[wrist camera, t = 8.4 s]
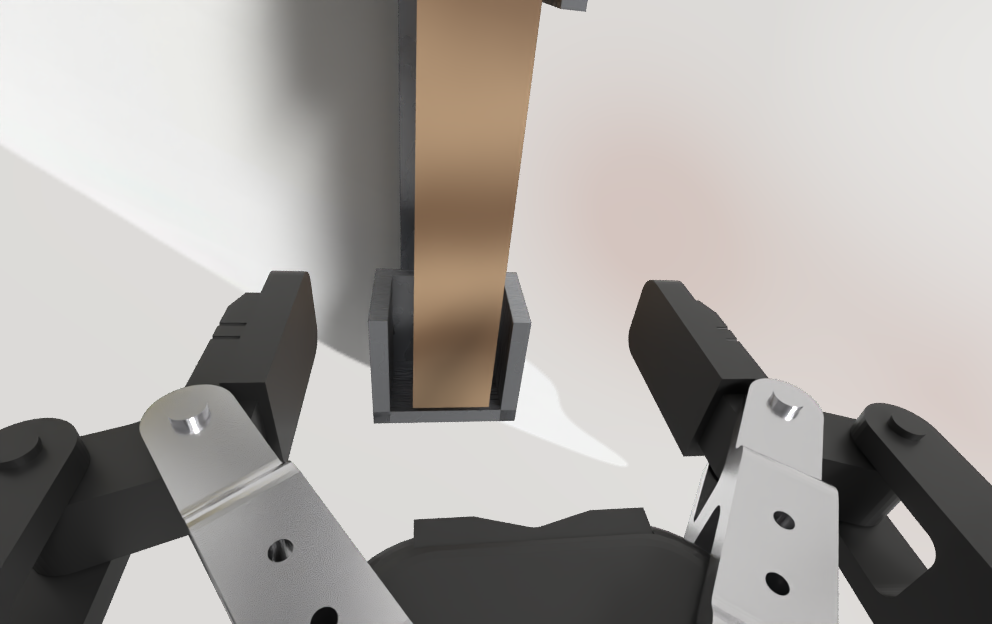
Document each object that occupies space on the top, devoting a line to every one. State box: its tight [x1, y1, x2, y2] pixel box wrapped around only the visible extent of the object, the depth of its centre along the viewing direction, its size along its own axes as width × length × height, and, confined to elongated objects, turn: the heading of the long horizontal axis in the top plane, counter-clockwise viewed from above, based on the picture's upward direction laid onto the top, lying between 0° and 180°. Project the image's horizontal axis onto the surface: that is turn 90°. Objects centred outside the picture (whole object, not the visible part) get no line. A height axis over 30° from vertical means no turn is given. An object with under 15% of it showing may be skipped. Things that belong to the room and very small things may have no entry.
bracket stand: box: [368, 0, 588, 423], centre depth 22 cm, size 25×7×9 cm, turn 174°
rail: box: [413, 0, 542, 408], centre depth 19 cm, size 20×4×5 cm, turn 174°
